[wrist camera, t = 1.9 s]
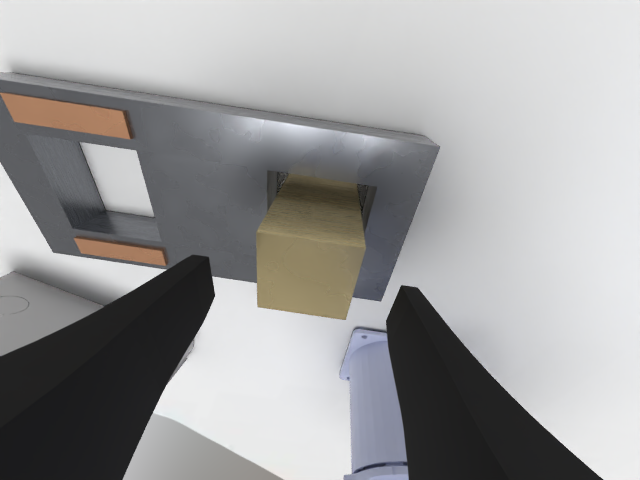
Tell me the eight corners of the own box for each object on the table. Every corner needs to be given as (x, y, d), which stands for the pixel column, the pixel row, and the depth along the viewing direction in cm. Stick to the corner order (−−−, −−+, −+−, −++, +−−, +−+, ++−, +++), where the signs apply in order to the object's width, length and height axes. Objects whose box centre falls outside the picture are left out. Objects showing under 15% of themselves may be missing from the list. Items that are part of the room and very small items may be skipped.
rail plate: (424, 135, 13) (441, 147, 11) (376, 276, 19) (381, 303, 16) (11, 72, 13) (-59, 71, 11) (86, 232, 18) (50, 254, 16)
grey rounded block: (16, 303, 24) (-169, 392, 14) (29, 263, 23) (-159, 329, 14) (185, 363, 28) (127, 466, 18) (202, 330, 27) (151, 420, 17)
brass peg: (356, 181, 15) (365, 248, 9) (344, 236, 17) (345, 319, 11) (290, 171, 15) (256, 231, 9) (287, 228, 17) (257, 307, 11)
